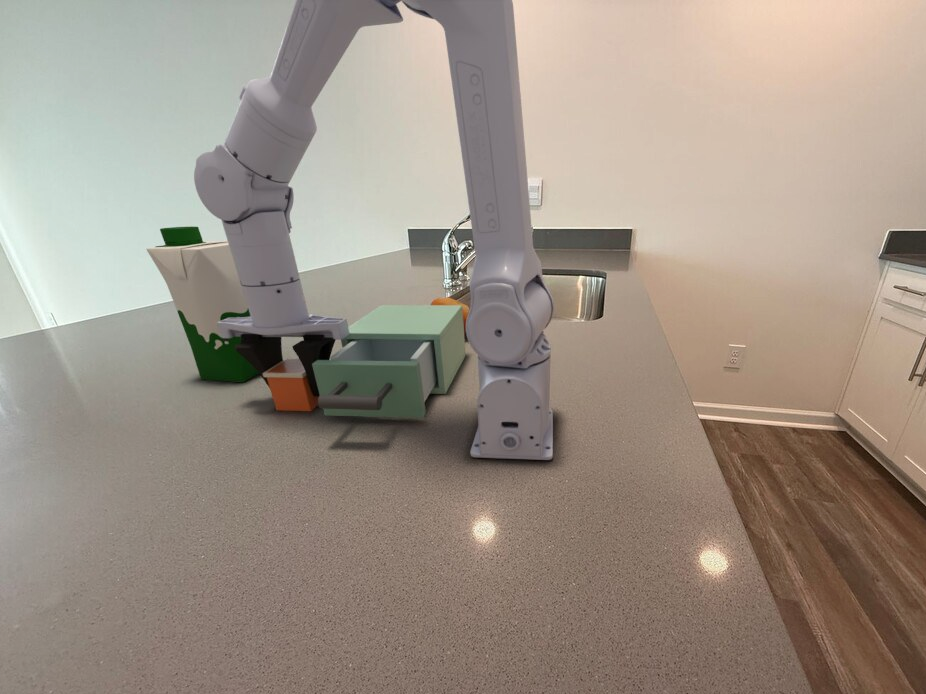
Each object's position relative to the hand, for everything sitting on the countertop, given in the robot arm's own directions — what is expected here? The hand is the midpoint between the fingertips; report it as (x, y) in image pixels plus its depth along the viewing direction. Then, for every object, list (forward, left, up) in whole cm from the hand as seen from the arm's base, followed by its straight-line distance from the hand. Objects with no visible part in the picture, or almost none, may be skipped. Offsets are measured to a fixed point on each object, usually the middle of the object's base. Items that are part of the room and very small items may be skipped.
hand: (301, 392), depth 50 cm
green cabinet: (+10, -11, -1) cm, 15 cm away
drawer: (-1, -11, 0) cm, 11 cm away
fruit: (+26, -13, -2) cm, 29 cm away
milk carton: (+9, +15, -2) cm, 18 cm away
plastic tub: (0, 0, -1) cm, 1 cm away
